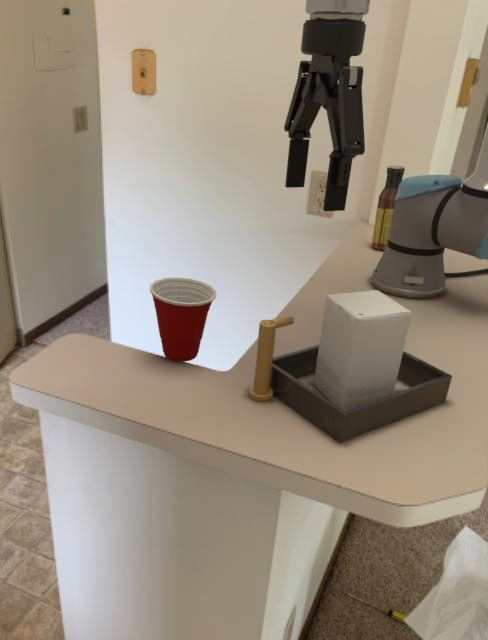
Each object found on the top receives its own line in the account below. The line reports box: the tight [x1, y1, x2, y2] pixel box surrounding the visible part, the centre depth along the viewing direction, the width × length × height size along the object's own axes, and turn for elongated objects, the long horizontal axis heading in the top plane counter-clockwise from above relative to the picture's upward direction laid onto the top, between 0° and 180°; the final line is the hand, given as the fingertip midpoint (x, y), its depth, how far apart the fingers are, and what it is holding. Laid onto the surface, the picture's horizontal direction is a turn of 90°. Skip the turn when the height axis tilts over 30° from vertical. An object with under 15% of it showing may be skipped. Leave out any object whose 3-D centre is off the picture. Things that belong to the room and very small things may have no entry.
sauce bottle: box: [372, 165, 406, 252], centre depth 152 cm, size 7×6×20 cm
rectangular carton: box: [313, 289, 413, 411], centre depth 90 cm, size 9×9×15 cm
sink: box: [248, 314, 453, 444], centre depth 90 cm, size 25×18×12 cm
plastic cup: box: [149, 276, 217, 363], centre depth 101 cm, size 11×11×12 cm
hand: (312, 198), depth 85 cm, fingers open, 13 cm apart
